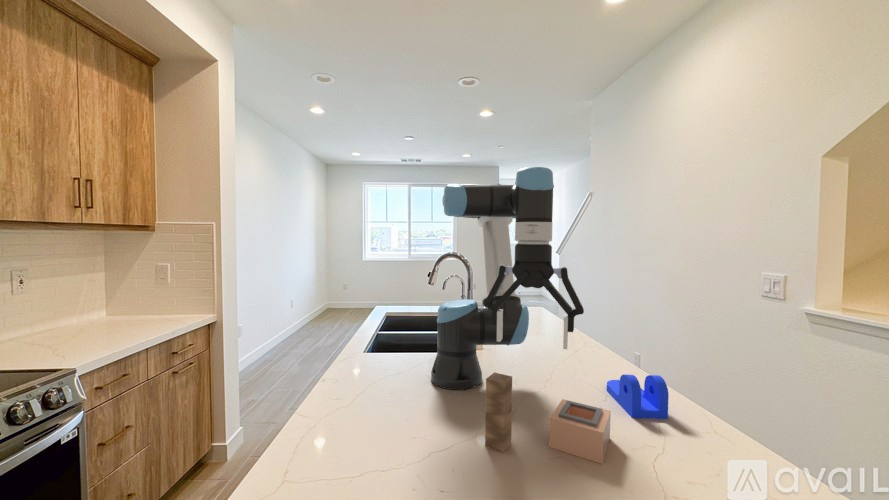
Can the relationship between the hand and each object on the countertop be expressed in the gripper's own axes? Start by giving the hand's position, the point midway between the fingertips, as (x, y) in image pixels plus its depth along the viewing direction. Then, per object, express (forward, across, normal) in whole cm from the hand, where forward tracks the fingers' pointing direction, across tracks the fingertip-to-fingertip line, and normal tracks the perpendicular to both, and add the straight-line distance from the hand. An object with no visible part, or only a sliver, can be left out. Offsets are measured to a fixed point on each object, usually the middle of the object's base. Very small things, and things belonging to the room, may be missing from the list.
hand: (531, 343), depth 75 cm
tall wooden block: (+20, -6, -5) cm, 22 cm away
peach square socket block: (+20, +10, +2) cm, 23 cm away
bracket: (+20, +23, +27) cm, 41 cm away
